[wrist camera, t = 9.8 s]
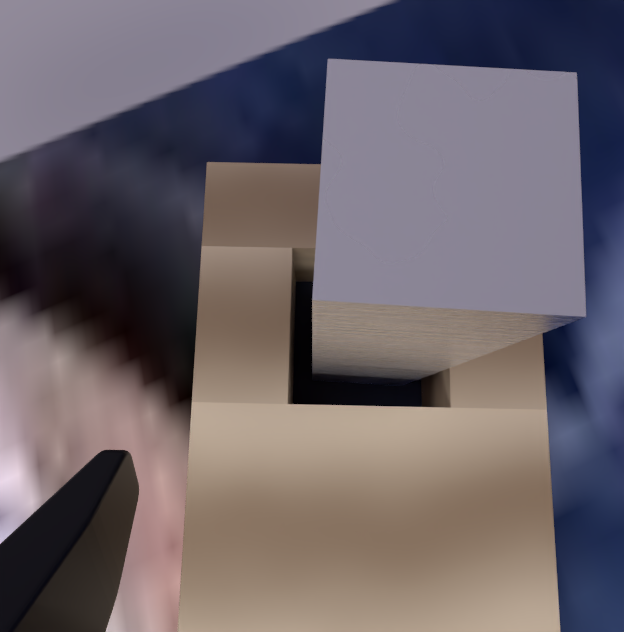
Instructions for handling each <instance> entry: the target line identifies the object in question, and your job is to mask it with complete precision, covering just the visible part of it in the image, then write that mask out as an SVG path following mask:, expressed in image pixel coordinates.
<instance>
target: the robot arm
mask: <svg viewBox="0 0 624 632" xmlns="http://www.w3.org/2000/svg"><path fill="white" fill-rule="evenodd" d="M138 495H139V484H138V480H137V476H136V472H135V468H134V464H133V460H132V457H131V454H130V453H129V452H128V451H125V450H104V451H101V452H100V453H98V454H97V455H96V456H95V457H94V458H93V459H92V460H91V461H90V462H88V463H87V464H86V465H85V466H84V467H83V468H82V469H81V470H80V471H79V472H78V473H77V474H75V475H74V476H73V477H72V478H71V479H70V480H69V481H68V482H67V483H66V484H65V485H64V486H63V487H61V488H60V489H59V490H58V491H57V492H56V493H55V494H54V495H53V496H52V497H51V498H50V499H48V500H47V501H46V502H45V503H44V504H43V505H42V506H41V507H40V508H39V509H38V510H37V511H36V512H34V513H33V514H32V515H31V516H30V517H29V518H28V519H27V520H26V521H25V522H24V523H23V524H21V525H20V526H19V527H18V528H17V529H16V530H15V531H14V532H13V533H12V534H11V535H10V536H8V537H7V538H6V539H5V540H4V541H3V542H2V543H1V544H0V632H105V631H106V628H107V625H108V622H109V619H110V616H111V613H112V610H113V606H114V603H115V600H116V596H117V593H118V589H119V584H120V580H121V576H122V571H123V566H124V562H125V557H126V552H127V548H128V543H129V538H130V534H131V529H132V525H133V520H134V515H135V511H136V506H137V501H138Z"/></svg>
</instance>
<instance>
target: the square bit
mask: <svg viewBox="0 0 624 632" xmlns="http://www.w3.org/2000/svg"><path fill="white" fill-rule="evenodd" d="M585 317H586V300H585V273H584V247H583V221H582V194H581V168H580V141H579V115H578V89H577V73H576V72H558V71H540V70H522V69H504V68H486V67H468V66H450V65H432V64H414V63H397V62H379V61H361V60H343V59H328V64H327V80H326V95H325V110H324V126H323V141H322V156H321V172H320V187H319V203H318V218H317V233H316V249H315V264H314V280H313V295H312V380H313V381H329V382H345V383H360V384H376V385H392V386H403V385H405V384H408V383H411V382H413V381H416V380H419V379H421V378H424V377H427V376H429V375H432V374H435V373H437V372H440V371H443V370H446V369H448V368H451V367H454V366H456V365H459V364H462V363H464V362H467V361H470V360H472V359H475V358H478V357H480V356H483V355H486V354H488V353H491V352H494V351H496V350H499V349H502V348H504V347H507V346H510V345H512V344H515V343H518V342H520V341H523V340H526V339H528V338H531V337H534V336H536V335H539V334H542V333H544V332H547V331H550V330H552V329H555V328H558V327H561V326H563V325H566V324H569V323H571V322H574V321H577V320H579V319H582V318H585Z"/></svg>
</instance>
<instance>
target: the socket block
mask: <svg viewBox="0 0 624 632" xmlns="http://www.w3.org/2000/svg"><path fill="white" fill-rule="evenodd" d="M320 172H321V164H277V163H227V162H207V171H206V187H205V203H204V219H203V234H202V250H201V266H200V282H199V298H198V314H197V330H196V346H195V362H194V377H193V393H192V409H191V425H190V441H189V457H188V473H187V489H186V505H185V521H184V536H183V552H182V568H181V584H180V600H179V616H178V632H560V618H559V601H558V585H557V568H556V552H555V536H554V519H553V503H552V487H551V470H550V454H549V437H548V421H547V405H546V388H545V372H544V356H543V339H542V334H539V335H536V336H534V337H531V338H528V339H526V340H523V341H520V342H518V343H515V344H512V345H510V346H507V347H504V348H502V349H499V350H496V351H494V352H491V353H488V354H486V355H483V356H480V357H478V358H475V359H472V360H470V361H467V362H464V363H462V364H459V365H456V366H454V367H451V368H448V369H446V370H443V371H440V372H437V373H435V374H432V375H429V376H427V377H424V378H421V399H422V407H398V406H352V405H305V404H293V378H294V342H295V305H296V281H297V282H313V280H314V264H315V249H316V233H317V218H318V203H319V187H320Z"/></svg>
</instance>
